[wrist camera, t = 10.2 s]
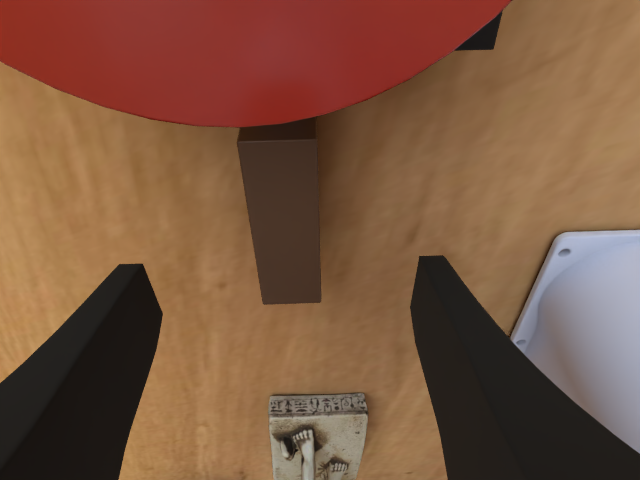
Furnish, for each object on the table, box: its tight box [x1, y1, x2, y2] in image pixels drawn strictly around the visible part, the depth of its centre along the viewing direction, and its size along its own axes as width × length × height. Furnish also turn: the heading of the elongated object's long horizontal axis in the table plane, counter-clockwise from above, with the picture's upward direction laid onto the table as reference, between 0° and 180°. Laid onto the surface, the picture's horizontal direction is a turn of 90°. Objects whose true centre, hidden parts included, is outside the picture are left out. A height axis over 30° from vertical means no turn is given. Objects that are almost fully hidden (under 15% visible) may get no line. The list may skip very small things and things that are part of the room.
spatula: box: [237, 117, 321, 305], centre depth 14 cm, size 16×5×3 cm, turn 1°
